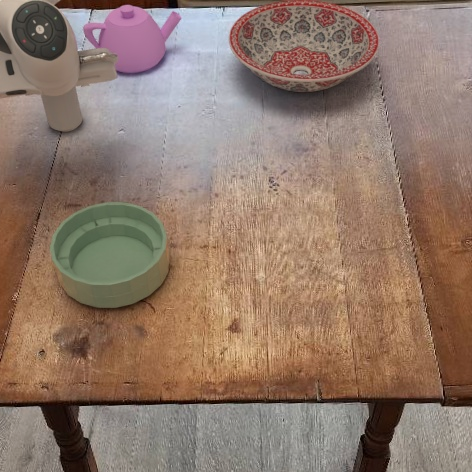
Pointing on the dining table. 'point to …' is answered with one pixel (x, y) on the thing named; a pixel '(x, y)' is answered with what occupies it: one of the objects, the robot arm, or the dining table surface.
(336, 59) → the ceramic bowl
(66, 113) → the beverage can
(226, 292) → the dining table surface
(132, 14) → the teapot
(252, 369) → the dining table surface
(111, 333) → the dining table surface
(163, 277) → the green bowl
